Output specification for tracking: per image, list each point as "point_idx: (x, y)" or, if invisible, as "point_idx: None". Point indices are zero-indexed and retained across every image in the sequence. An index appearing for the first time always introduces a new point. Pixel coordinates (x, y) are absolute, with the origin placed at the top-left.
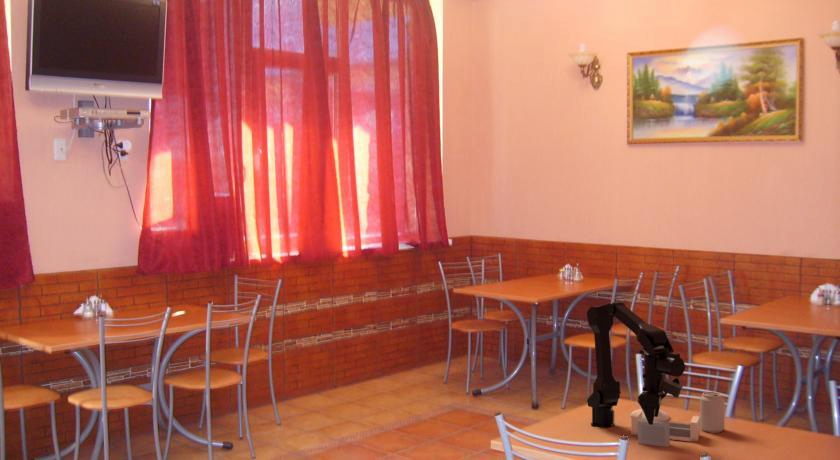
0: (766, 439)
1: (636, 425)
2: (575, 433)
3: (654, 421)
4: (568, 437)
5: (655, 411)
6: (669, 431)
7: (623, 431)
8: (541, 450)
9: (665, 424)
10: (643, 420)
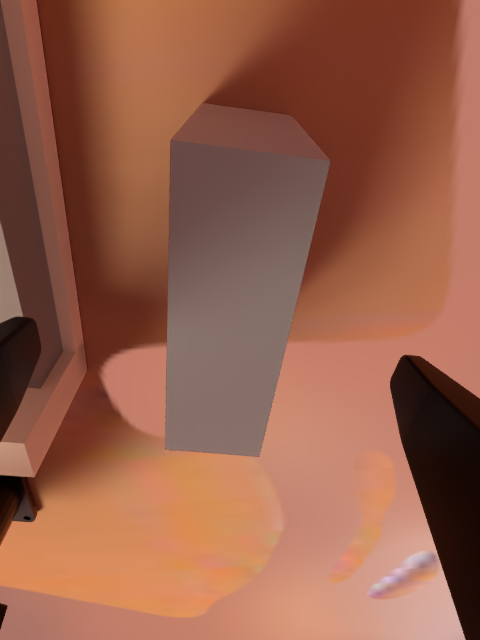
0: None
1: (56, 392)
2: (179, 539)
3: (223, 334)
4: (243, 550)
5: (5, 385)
6: (193, 118)
7: None
8: (416, 584)
9: (317, 199)
10: (219, 423)
